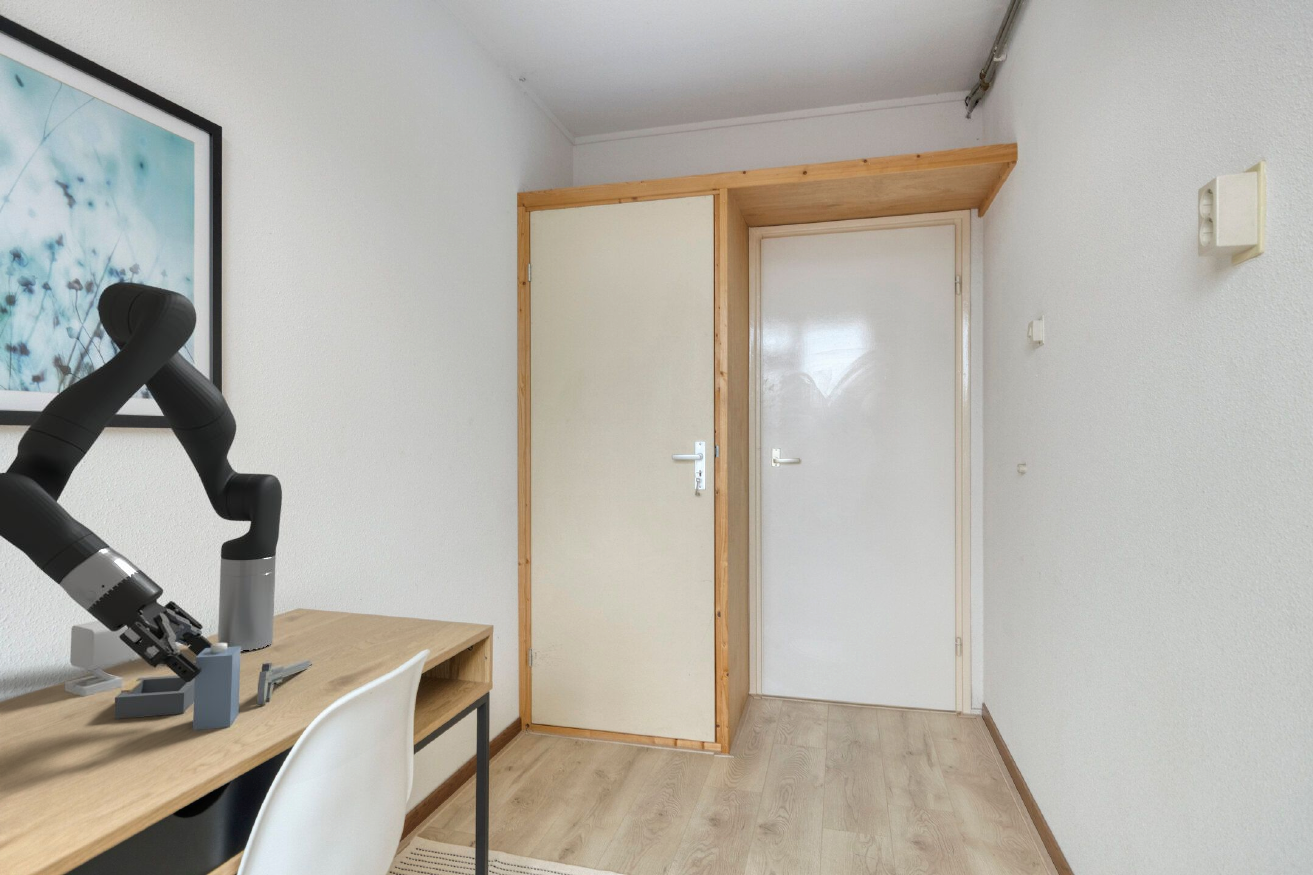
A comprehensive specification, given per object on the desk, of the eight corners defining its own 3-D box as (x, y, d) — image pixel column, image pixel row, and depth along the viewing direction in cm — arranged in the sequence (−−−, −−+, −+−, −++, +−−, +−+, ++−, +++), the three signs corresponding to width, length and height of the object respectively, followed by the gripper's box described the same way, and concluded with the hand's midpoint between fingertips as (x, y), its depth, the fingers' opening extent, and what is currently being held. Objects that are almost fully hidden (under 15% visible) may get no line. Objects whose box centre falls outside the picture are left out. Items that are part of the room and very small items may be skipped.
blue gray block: (192, 729, 97) (195, 649, 97) (203, 717, 101) (205, 641, 101) (230, 726, 98) (232, 648, 98) (238, 714, 102) (241, 639, 102)
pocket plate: (113, 718, 100) (114, 695, 100) (137, 697, 108) (138, 676, 108) (183, 713, 102) (184, 691, 102) (201, 693, 110) (202, 672, 110)
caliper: (264, 708, 106) (265, 666, 106) (256, 708, 106) (258, 666, 106) (312, 665, 126) (313, 630, 126) (306, 665, 126) (307, 630, 126)
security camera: (135, 683, 114) (137, 621, 114) (85, 697, 107) (87, 631, 107) (112, 677, 116) (115, 616, 116) (62, 689, 110) (65, 625, 110)
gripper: (113, 578, 90) (212, 662, 93) (155, 560, 103) (240, 633, 107) (61, 621, 88) (164, 705, 91) (111, 597, 102) (199, 671, 105)
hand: (205, 666), depth 99 cm, fingers open, 8 cm apart
